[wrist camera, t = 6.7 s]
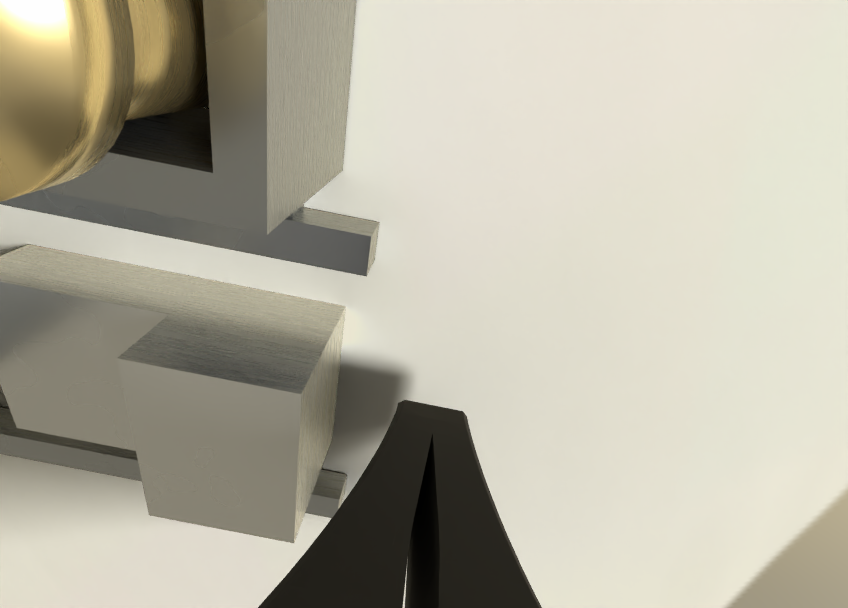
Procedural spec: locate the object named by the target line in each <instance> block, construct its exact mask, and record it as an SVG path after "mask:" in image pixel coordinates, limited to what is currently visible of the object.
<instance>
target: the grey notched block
mask: <svg viewBox="0 0 848 608" xmlns="http://www.w3.org/2000/svg"><path fill="white" fill-rule="evenodd" d="M345 308H346V306H341V305H336V304H331V303H326V302H321V301H316V300H311V299H306V298H301V297H295V296H290V295H285V294H280V293H275V292H270V291H265V290H260V289H255V288H250V287H245V286H239V285H234V284H229V283H224V282H219V281H214V280H209V279H204V278H199V277H194V276H189V275H183V274H178V273H173V272H168V271H163V270H158V269H153V268H148V267H143V266H138V265H133V264H127V263H122V262H117V261H112V260H107V259H102V258H97V257H92V256H87V255H82V254H77V253H71V252H66V251H61V250H56V249H51V248H46V247H41V246H36V245H31V244H28V245H25V246H23V247H21V248H18V249H16V250H13V251H11V252H9V253H6V254H4V255H1V256H0V385H1V388H2V390H3V393H4V395H5V398H6V401H7V403H8V406H9V409H10V411H11V414H12V417H13V419H14V422H15V424H16V427H17V428H20V429H25V430H30V431H35V432H41V433H46V434H51V435H56V436H61V437H66V438H71V439H77V440H82V441H87V442H92V443H97V444H102V445H107V446H113V447H118V448H123V449H128V450H133V451H136V454H137V459H138V464H139V468H140V473H141V478H142V483H143V488H144V493H145V497H146V502H147V507H148V512H149V515H151V516H156V517H161V518H167V519H172V520H177V521H182V522H187V523H192V524H197V525H203V526H208V527H213V528H218V529H223V530H228V531H234V532H239V533H244V534H249V535H254V536H259V537H265V538H270V539H275V540H280V541H285V542H290V543H294V542H295V539H296V536H297V534H298V531H299V528H300V525H301V523H302V520H303V517H304V514H305V512H306V509H307V506H308V503H309V501H310V498H311V495H312V492H313V490H314V487H315V484H316V481H317V479H318V476H319V473H320V471H321V468H322V465H323V462H324V460H325V457H326V454H327V451H328V449H329V446H330V443H331V440H332V438H333V429H334V419H335V408H336V398H337V388H338V378H339V368H340V358H341V348H342V338H343V328H344V318H345Z"/></svg>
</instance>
